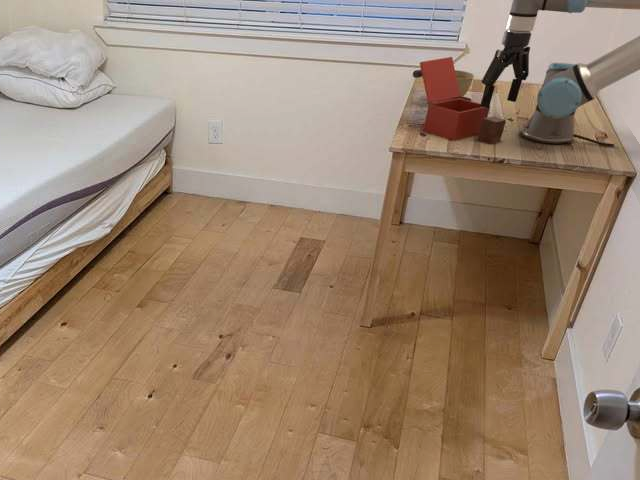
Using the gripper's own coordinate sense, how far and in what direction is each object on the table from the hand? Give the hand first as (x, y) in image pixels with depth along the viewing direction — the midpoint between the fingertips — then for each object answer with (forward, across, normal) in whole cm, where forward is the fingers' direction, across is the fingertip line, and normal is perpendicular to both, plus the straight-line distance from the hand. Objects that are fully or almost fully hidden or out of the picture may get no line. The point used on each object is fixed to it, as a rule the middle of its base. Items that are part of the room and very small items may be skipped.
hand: (498, 103), depth 217 cm
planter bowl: (+12, -27, -39) cm, 49 cm away
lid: (-3, +1, -22) cm, 22 cm away
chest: (+12, +1, -13) cm, 17 cm away
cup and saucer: (+12, -16, -25) cm, 32 cm away
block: (+12, 0, 0) cm, 12 cm away
